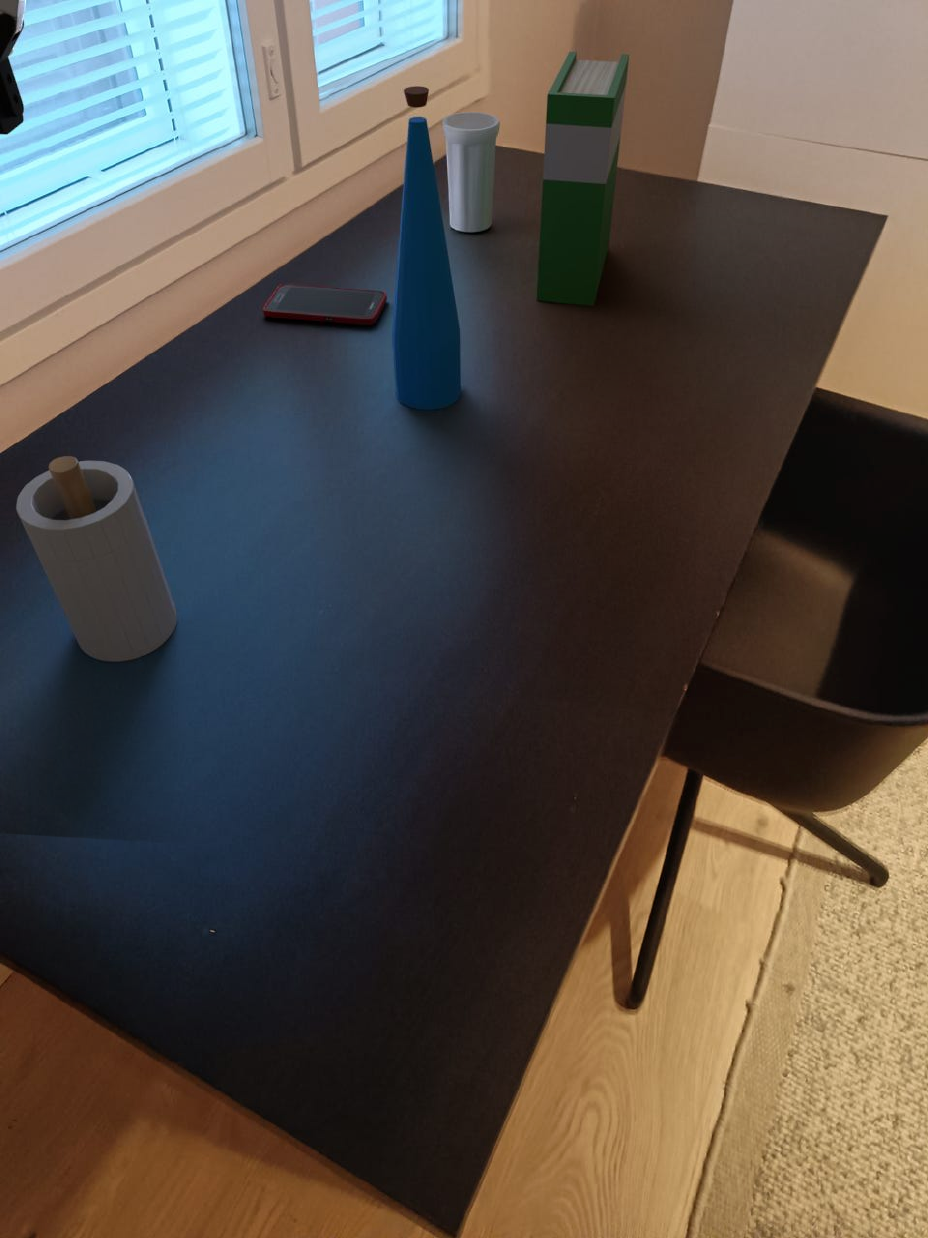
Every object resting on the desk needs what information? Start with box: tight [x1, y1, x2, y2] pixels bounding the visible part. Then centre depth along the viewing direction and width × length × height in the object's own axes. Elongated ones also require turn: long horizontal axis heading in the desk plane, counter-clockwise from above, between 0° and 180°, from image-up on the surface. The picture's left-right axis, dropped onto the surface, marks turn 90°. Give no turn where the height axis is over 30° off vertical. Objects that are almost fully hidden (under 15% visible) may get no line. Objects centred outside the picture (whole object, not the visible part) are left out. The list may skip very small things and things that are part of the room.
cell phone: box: [262, 283, 388, 326], centre depth 115 cm, size 8×15×1 cm, turn 80°
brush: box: [48, 455, 97, 520], centre depth 69 cm, size 4×4×16 cm
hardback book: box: [536, 51, 630, 307], centre depth 113 cm, size 18×7×24 cm, turn 167°
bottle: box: [391, 85, 462, 411], centre depth 90 cm, size 7×7×30 cm
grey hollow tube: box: [15, 460, 178, 663], centre depth 71 cm, size 8×8×14 cm
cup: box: [440, 111, 501, 233], centre depth 128 cm, size 8×8×14 cm
